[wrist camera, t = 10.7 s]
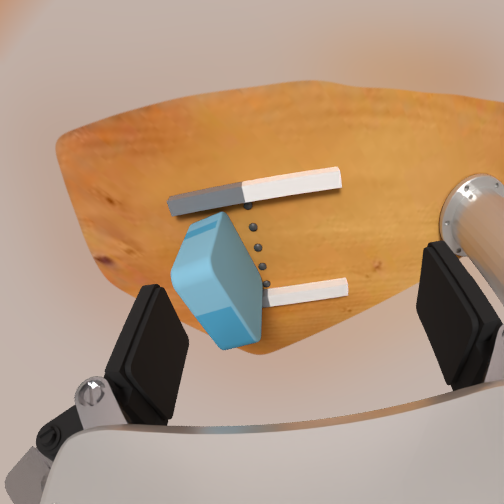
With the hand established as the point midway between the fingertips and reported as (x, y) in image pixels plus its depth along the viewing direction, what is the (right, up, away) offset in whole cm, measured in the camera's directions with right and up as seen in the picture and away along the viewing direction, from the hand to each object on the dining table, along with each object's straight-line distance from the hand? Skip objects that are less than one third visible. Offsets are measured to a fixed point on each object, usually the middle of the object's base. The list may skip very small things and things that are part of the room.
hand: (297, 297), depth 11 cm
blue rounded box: (-4, +2, +31) cm, 31 cm away
